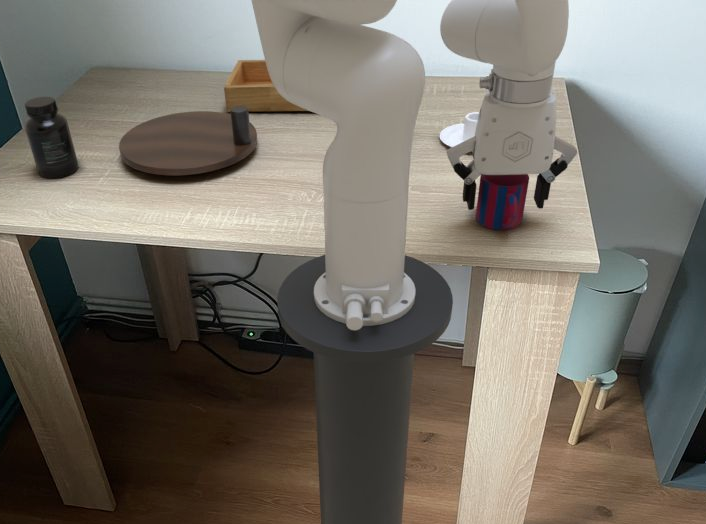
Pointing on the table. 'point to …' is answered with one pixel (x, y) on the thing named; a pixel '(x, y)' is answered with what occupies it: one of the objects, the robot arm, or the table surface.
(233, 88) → the tray
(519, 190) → the mug
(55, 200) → the table surface
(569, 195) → the table surface
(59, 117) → the supplement bottle
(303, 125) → the table surface
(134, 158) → the turntable
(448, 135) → the candle holder
